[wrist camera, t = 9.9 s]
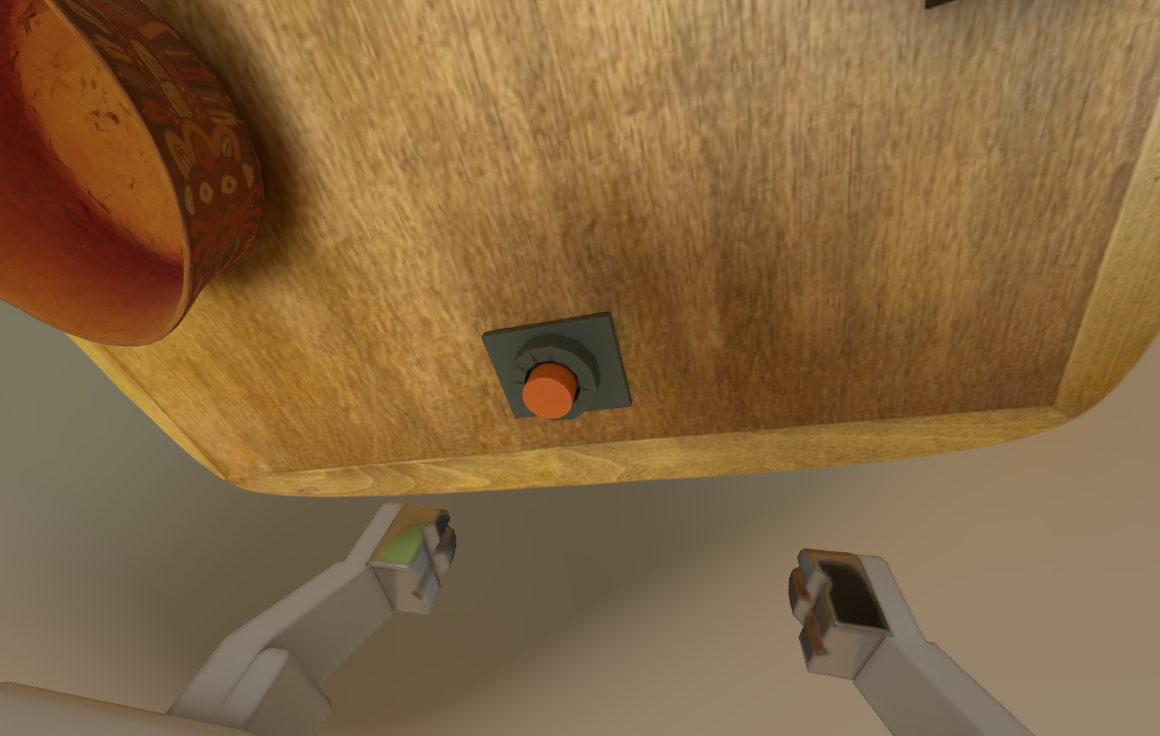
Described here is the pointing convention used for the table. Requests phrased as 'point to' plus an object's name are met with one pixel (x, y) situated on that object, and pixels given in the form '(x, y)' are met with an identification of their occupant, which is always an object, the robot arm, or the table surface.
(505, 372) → the housing
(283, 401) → the table surface
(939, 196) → the table surface
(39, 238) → the bowl
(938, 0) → the black lever box
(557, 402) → the button
